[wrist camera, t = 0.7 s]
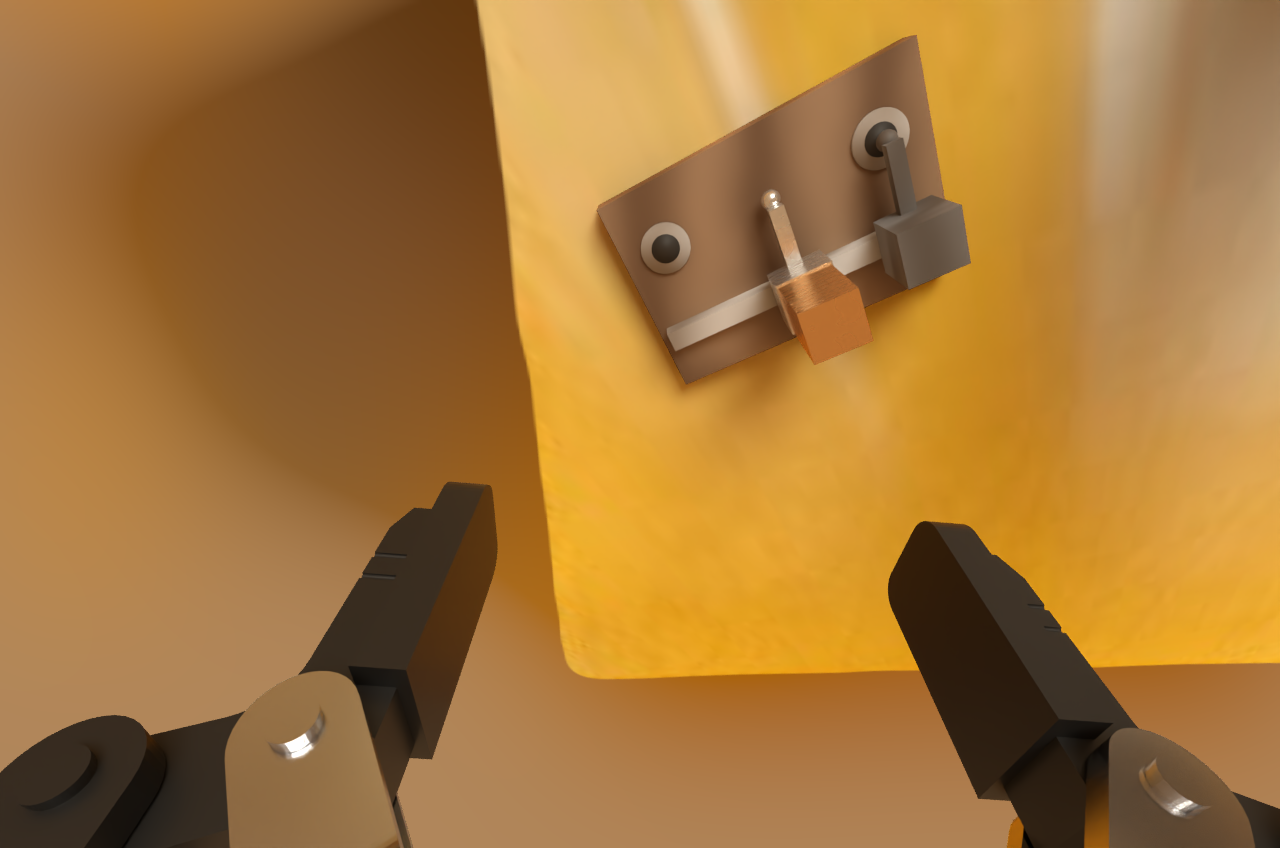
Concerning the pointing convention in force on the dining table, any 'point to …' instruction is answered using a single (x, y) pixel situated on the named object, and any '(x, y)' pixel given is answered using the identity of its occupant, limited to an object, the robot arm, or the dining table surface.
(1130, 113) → the dining table surface
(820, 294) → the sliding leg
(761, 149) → the brown slider base
